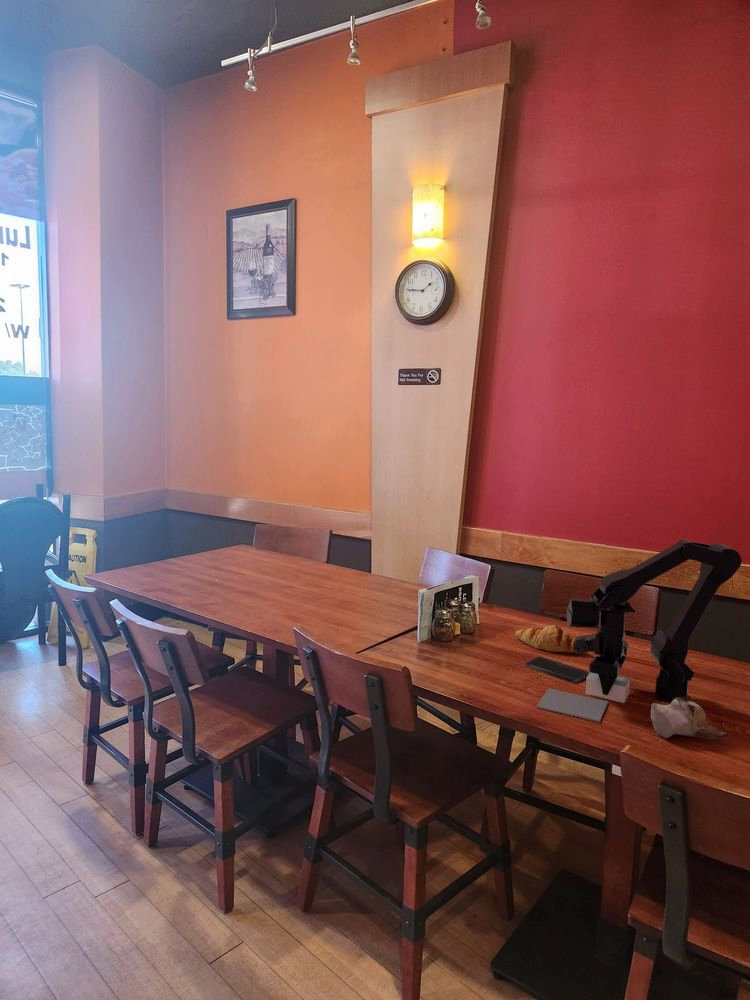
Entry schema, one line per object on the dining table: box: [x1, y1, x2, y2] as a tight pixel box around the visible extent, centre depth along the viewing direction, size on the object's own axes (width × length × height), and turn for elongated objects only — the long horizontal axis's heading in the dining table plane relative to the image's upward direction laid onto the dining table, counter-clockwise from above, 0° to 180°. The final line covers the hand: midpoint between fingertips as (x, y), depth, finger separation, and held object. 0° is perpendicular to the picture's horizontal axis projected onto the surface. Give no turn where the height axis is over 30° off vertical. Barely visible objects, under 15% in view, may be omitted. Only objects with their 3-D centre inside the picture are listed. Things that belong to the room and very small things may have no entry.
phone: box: [525, 656, 590, 684], centre depth 172 cm, size 8×1×15 cm
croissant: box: [515, 624, 577, 654], centre depth 189 cm, size 21×10×8 cm, turn 55°
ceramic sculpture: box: [650, 697, 730, 741], centre depth 140 cm, size 11×9×15 cm
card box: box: [584, 672, 631, 704], centre depth 159 cm, size 9×6×4 cm, turn 58°
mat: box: [536, 688, 609, 724], centre depth 153 cm, size 14×11×1 cm
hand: (607, 690), depth 159 cm, fingers closed on card box, 6 cm apart
